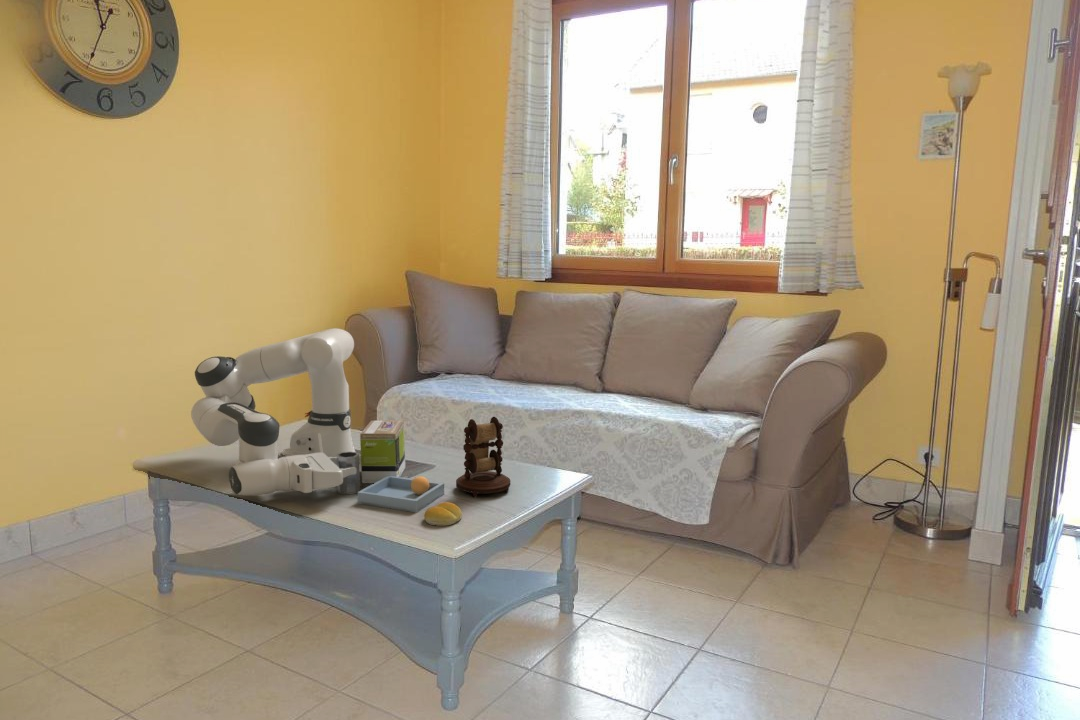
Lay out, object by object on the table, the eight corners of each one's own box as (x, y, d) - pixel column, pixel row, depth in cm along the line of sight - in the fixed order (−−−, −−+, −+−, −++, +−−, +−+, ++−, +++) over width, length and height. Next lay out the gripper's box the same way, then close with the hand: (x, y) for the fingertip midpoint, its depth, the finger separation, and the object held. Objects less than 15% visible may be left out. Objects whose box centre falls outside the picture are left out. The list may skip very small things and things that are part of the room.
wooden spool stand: (495, 478, 219) (495, 409, 215) (520, 493, 206) (521, 421, 203) (447, 485, 211) (447, 415, 208) (470, 502, 199) (470, 427, 195)
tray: (357, 503, 196) (357, 492, 196) (388, 486, 210) (388, 475, 210) (416, 512, 190) (416, 501, 190) (444, 494, 204) (444, 483, 204)
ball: (433, 486, 204) (419, 498, 203) (422, 472, 205) (408, 484, 204) (432, 486, 199) (417, 498, 199) (420, 472, 200) (406, 484, 199)
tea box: (372, 467, 226) (371, 419, 224) (406, 468, 226) (405, 419, 224) (360, 484, 212) (359, 432, 209) (397, 484, 212) (396, 432, 209)
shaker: (341, 495, 202) (340, 458, 200) (336, 489, 207) (335, 453, 205) (361, 492, 205) (360, 456, 203) (355, 486, 209) (355, 450, 208)
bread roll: (417, 522, 185) (417, 506, 184) (442, 512, 192) (442, 496, 191) (443, 530, 180) (443, 513, 179) (468, 519, 187) (468, 503, 186)
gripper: (289, 472, 208) (340, 466, 214) (307, 495, 190) (362, 487, 197) (288, 450, 207) (339, 444, 213) (306, 471, 189) (361, 463, 196)
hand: (350, 465), depth 205 cm, fingers open, 8 cm apart
